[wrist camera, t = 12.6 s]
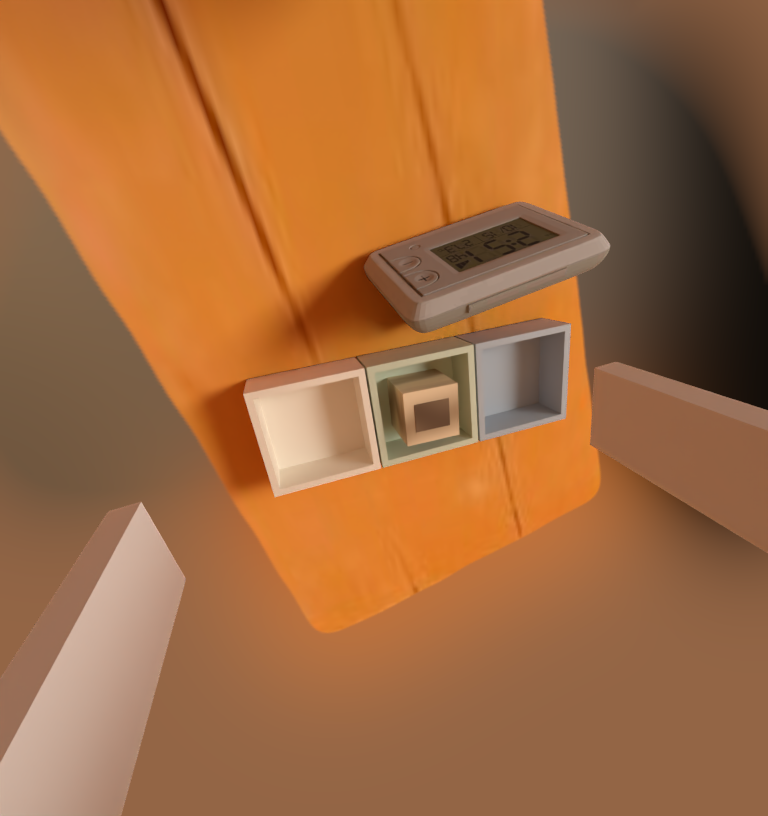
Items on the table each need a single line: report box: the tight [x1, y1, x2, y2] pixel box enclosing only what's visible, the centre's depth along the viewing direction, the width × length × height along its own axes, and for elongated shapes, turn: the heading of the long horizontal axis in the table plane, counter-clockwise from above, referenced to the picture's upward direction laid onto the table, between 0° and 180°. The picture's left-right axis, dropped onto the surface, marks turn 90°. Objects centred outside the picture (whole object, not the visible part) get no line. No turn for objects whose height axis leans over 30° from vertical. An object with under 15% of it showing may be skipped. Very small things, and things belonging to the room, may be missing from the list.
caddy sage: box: [357, 337, 478, 468], centre depth 36 cm, size 10×10×4 cm
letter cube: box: [387, 369, 459, 446], centre depth 35 cm, size 5×5×5 cm
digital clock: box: [364, 202, 610, 333], centre depth 30 cm, size 16×9×11 cm, turn 97°
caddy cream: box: [243, 357, 381, 497], centre depth 34 cm, size 10×10×4 cm
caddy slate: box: [455, 318, 571, 441], centre depth 38 cm, size 10×10×4 cm
